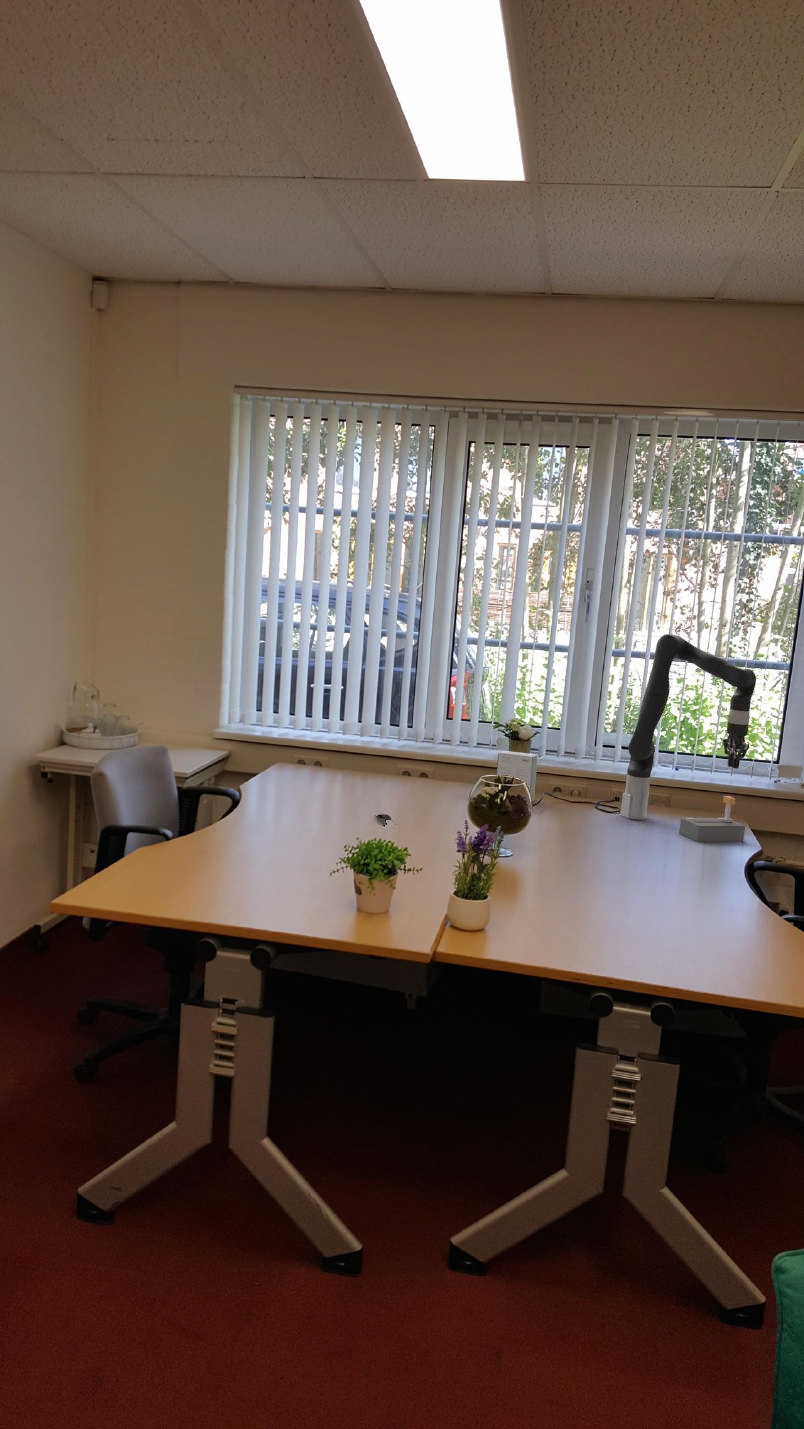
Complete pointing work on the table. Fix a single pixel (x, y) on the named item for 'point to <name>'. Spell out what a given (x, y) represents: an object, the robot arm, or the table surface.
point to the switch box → (711, 830)
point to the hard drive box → (518, 767)
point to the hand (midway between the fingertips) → (733, 767)
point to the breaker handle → (728, 808)
